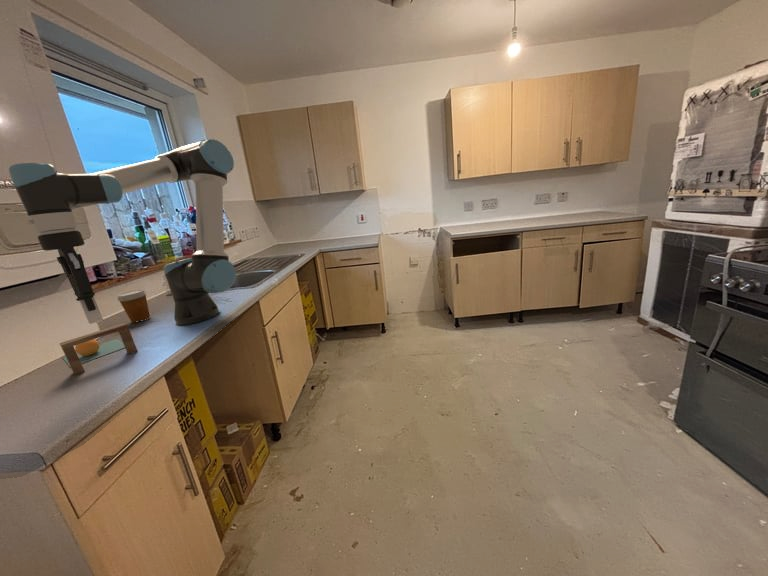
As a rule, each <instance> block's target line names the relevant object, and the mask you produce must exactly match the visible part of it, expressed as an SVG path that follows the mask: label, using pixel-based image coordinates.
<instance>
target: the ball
mask: <svg viewBox="0 0 768 576" xmlns="http://www.w3.org/2000/svg"><path fill="white" fill-rule="evenodd" d="M99 345H100V343H99V341H97V339H93V340H90V341H87V342H84V343H81V344H78V345H75V347H74V349H75V351H76V352H77V353H78V354H79V355H82V356H90V355H93V354H95V353H96V352H97V351H98V350H99Z"/></svg>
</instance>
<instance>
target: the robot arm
mask: <svg viewBox="0 0 768 576" xmlns="http://www.w3.org/2000/svg"><path fill="white" fill-rule="evenodd" d="M234 166H235V162H234V158H233V155H232V153H231V152H230V150H229V149H228V147H227V146H226V145H225V144H224V143H222V142H221V141H219V140H218V139H215V138H213V139H212V138H211V139H210V138H209V139H202V140H200V141H198V142H194V143H190V144H187V145H183V146H180V147H178V148H175V149H173V150H171V151H168V152H165V153H162V154H158V155H156V156H155V158H154V159H150V160H145V161H142V162H137V163H133V164H127V165H124V166H120V167H116V168H115V167H114V168H110V169H107V170H103V171H102V170H101V171H97V172H94V173H61V172H60V173H59V172H58V171H57V170H56V168H55V167H54V165H52V164H51V163H43V162H23V163H22V162H20V163H15V164H12V165H10V166H9V167H8V172H9V174H10V178H11V181H12V184H13V188H15V190H16V193H17V194H18V196H19V199H20V201H21V203H22V205H23V207H24V209H25V211H26V214H27V216H28V218H29V219H28V220H26V223H27V225H32V228H33V230H34V231H35V233H37V234H38V233H39V235H38V236H37V239H38V242H39V244H40V246H41V249H42V250H43V251H47V252H48V251H55V250H57V252H58V255H59V256H57V257H56V260H57V262H58V264H60V266H61V269H62V270H63V272H64V274H65V275H66V277H67V279H68V282H69V284H70V286H71V288H72V291H73V292H74V295H75V297H76V298H75V301H77V302H79V303H80V305H81V308H82V311H83V312H84V315H85V317H86V319H87V323H88V324H89V325H92V324H94V323H98V322H101V321H104V318H103V316H102V314H101V311H100V309H99V305H98V303H97V301H96V299H95V297H94V296H96V294H95V292H94V290H93V287H92V284H91V282H90V279H89V275H88V273H87V270H86V268H85V263H84V260H83V257H82V255H81V253H77V251H76V250H75V248H74V247H81V246H84V245H85V241H84V238H83V235H82V232H81V231H79V230H77V229H78V228H79V225H78V221H77V220H76V217H75V215H74V212H73V211H72V210H74V209H75V210H76V209H79V208H86V207H90V206H95V205H103V204H107V205H109V204H114V203H120V201H121V200H122V199H123V196H124V195H125V194H129V193H132V192H135V191H136V192H137V191H139V190H143V189H146V188H149V187H152V186H153V187H154V186H156V185H159V184H163V183H170V184H174V183H177V182H183V181H189V180H190V181H193V183H194V184H195V185H194V186H195V187H194V188H195V228H196V229H195V230H196V232H195V233H196V235H195V236H196V237H195V238H196V239H195V240H196V250H195V251H194V252H193V253H192V254H191V257H189V258H184V259H181V260H176V261H173V262H170V263H166V264H165V265H164V266H163V272H164V277H165V278H166V281H167V284H168V287H169V290H170V293H171V296H172V299H173V301H174V321H175V324H176V325H179V326H185V325H186V326H187V325H191V324H196V323H200V322H203V320H204V321H207V320H209V319H211V318H210V317H212V316H214V315H216V314H217V313H218V312H219V313H220V309H219V307H218V305H217V303H215V301H214V300H213V299H212V297H211V296H210V294H219V293H224V292H226V291H228V290H229V289H231V287H232V286H233V285H234V283H235V280H236V277H237V272H236V268H235V266H233V263H232V262H231V261H229V255H228V254H227V253H226V252H225V251H224V249H225V244H224V242H225V241H224V201H223V198H224V196H223V194H224V192H223V189H224V186H225V185H226V184H227V183H228V174H230V173H231V171H233V169H234ZM219 313H218V314H219ZM218 314H217V315H218ZM217 315H216V316H217ZM214 317H215V316H214ZM208 318H209V319H208ZM212 318H213V317H212ZM206 319H207V320H206Z"/></svg>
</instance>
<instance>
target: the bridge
mask: <svg viewBox="0 0 768 576" xmlns="http://www.w3.org/2000/svg"><path fill="white" fill-rule="evenodd" d="M117 332H118V334H119V336H120V338H121V340H122V341H121V342H123V344H124V346H125V348H124V349H125V351H126V353H127V354H129V355H132V354H134V353H138V348H137V346H136V343H135V341H134V339H133V335H132V333H131V331H130V328H129V326H128V324H127V323H125V322H122V323H119V324H116V325H113V326H111V327H108V328H104V329H101V330H98V331H93V332H91V333H89V334H86V335H85V334H84V335H82V336H79V337H75V338H72V339H69V340H66V341H65V340H64V341H63V342H59V345H60V347H61V349H62V351H63V354H64V357H65V356H66V358H67V360H68V362H69V364H70V366H69V368H70V369H71V371H72V373H73V374H74V375H75V376H77V375H79V374H82V373H85V372H86V371H85V369H84V366H83V364H81V362H80V360H79V358H78V355H77V353H76V350H75V347H76V345H78V344H81V343H84V342H87V341H90V340H93V339H94V340H97V339H100V338H102V337H106V336H108V335H111V334H114V333H117ZM74 346H75V347H74Z"/></svg>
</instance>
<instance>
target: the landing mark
mask: <svg viewBox="0 0 768 576" xmlns="http://www.w3.org/2000/svg"><path fill="white" fill-rule="evenodd" d="M101 344H102V345H101V346H99V350H98V351H97V352H96V353H95V354H93V355H90V356H82V355H81V356H80V357H78V358H79V360H80V362H81V364H82V363H83V364H85V363H88V362H91V361H93V359H94V360H97V359H98V358H102V357H105V356H107V355H110V354H112V353H115V352H119V351H121V350H123V349H125V346H124V344H123V341H121V340H119V339H118V338H115V339H112V340H108V341H107V342H106V341H105V342H103V343H101ZM63 357H64V358H63ZM63 357H62V359H63V361H65V363H66V364H67V363H68V364H67V365H68V366H69V367H70V364H69V362H68V360H67V358H66V357H65V356H63ZM83 364H82V365H83Z"/></svg>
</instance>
